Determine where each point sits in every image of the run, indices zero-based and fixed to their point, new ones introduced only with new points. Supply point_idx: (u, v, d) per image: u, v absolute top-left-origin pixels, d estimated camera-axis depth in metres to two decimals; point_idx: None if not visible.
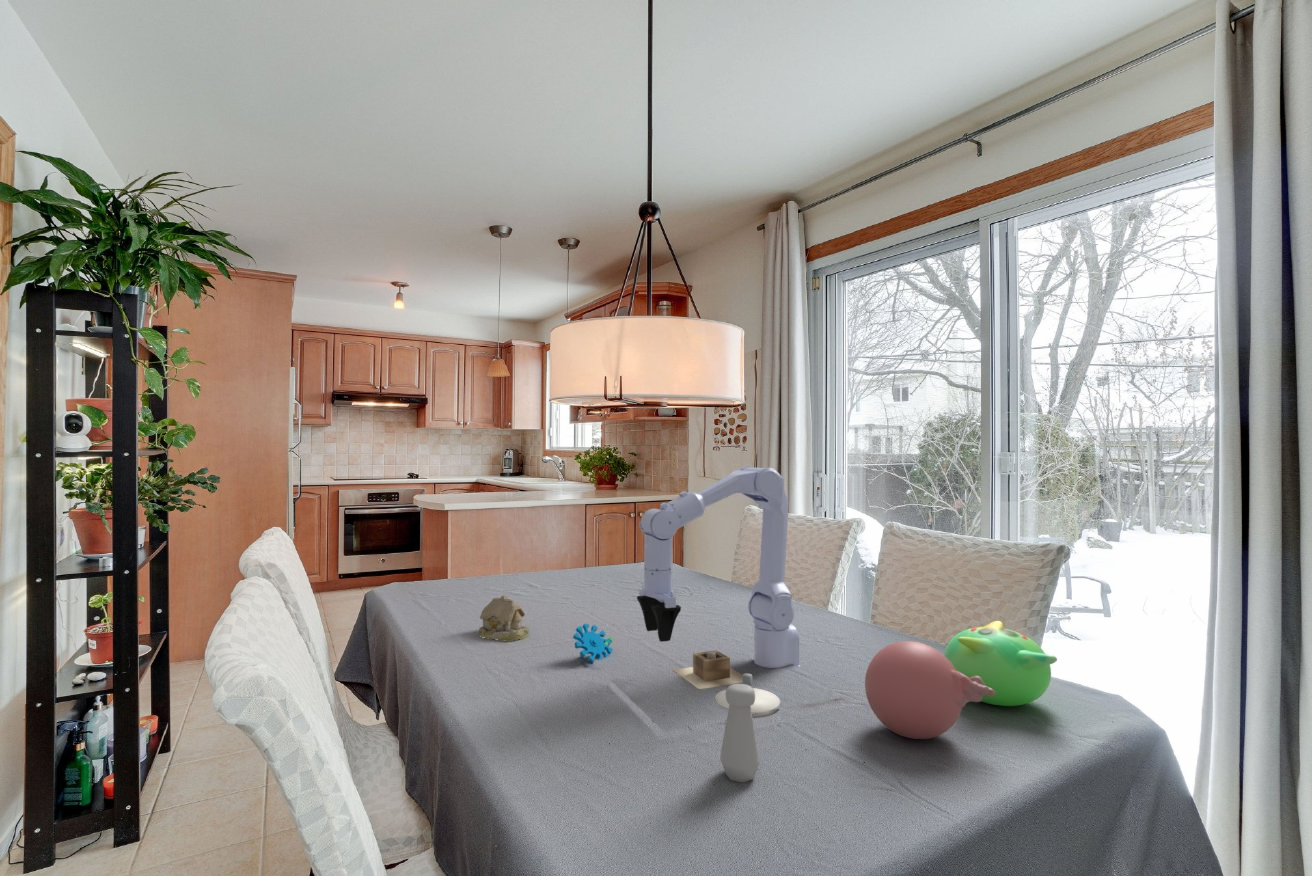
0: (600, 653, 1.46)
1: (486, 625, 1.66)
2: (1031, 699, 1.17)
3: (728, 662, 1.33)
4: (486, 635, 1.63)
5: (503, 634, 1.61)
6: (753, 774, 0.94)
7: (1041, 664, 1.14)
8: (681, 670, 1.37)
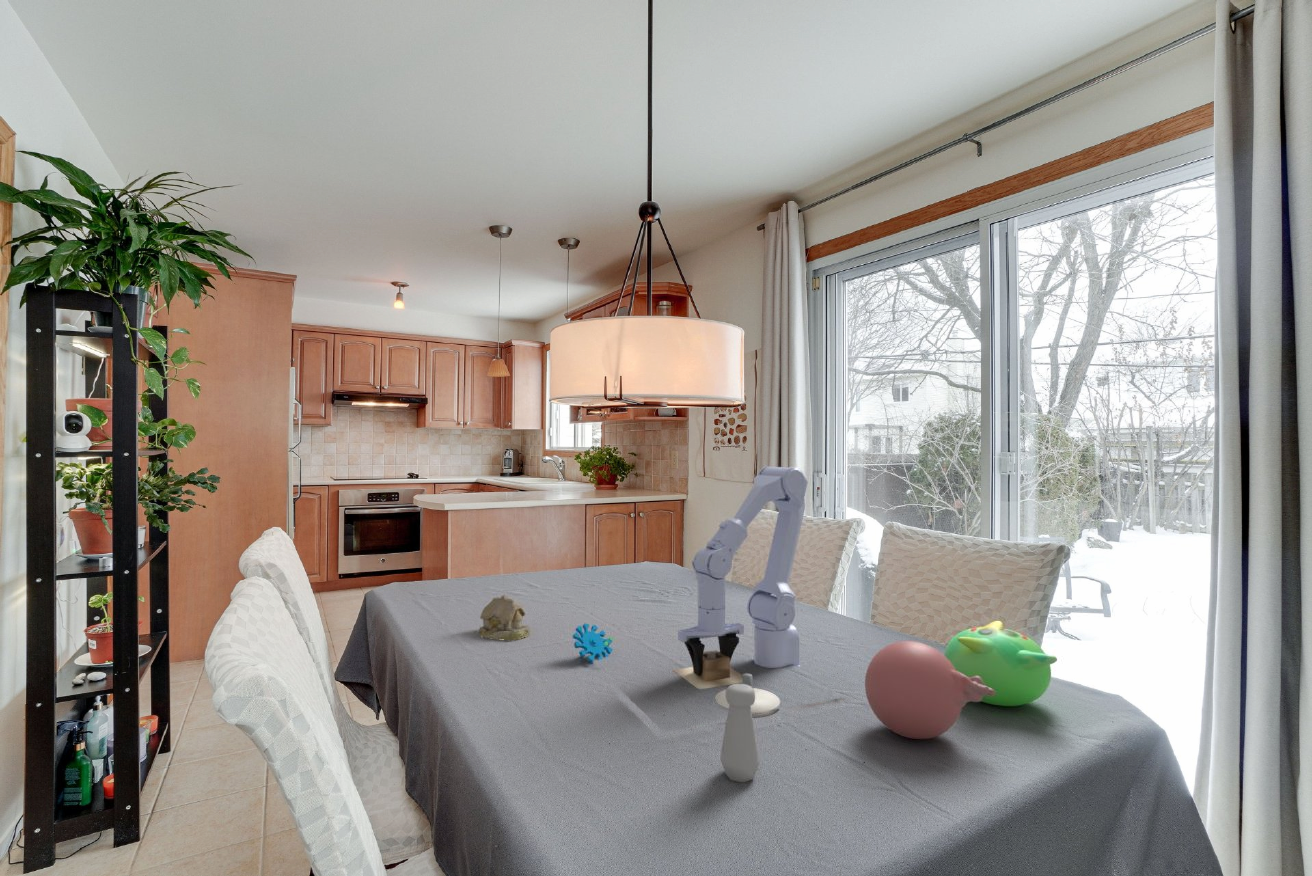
0: (600, 653, 1.46)
1: (486, 625, 1.66)
2: (1031, 699, 1.17)
3: (728, 662, 1.33)
4: (486, 635, 1.63)
5: (504, 633, 1.62)
6: (753, 774, 0.94)
7: (1041, 664, 1.14)
8: (681, 670, 1.37)
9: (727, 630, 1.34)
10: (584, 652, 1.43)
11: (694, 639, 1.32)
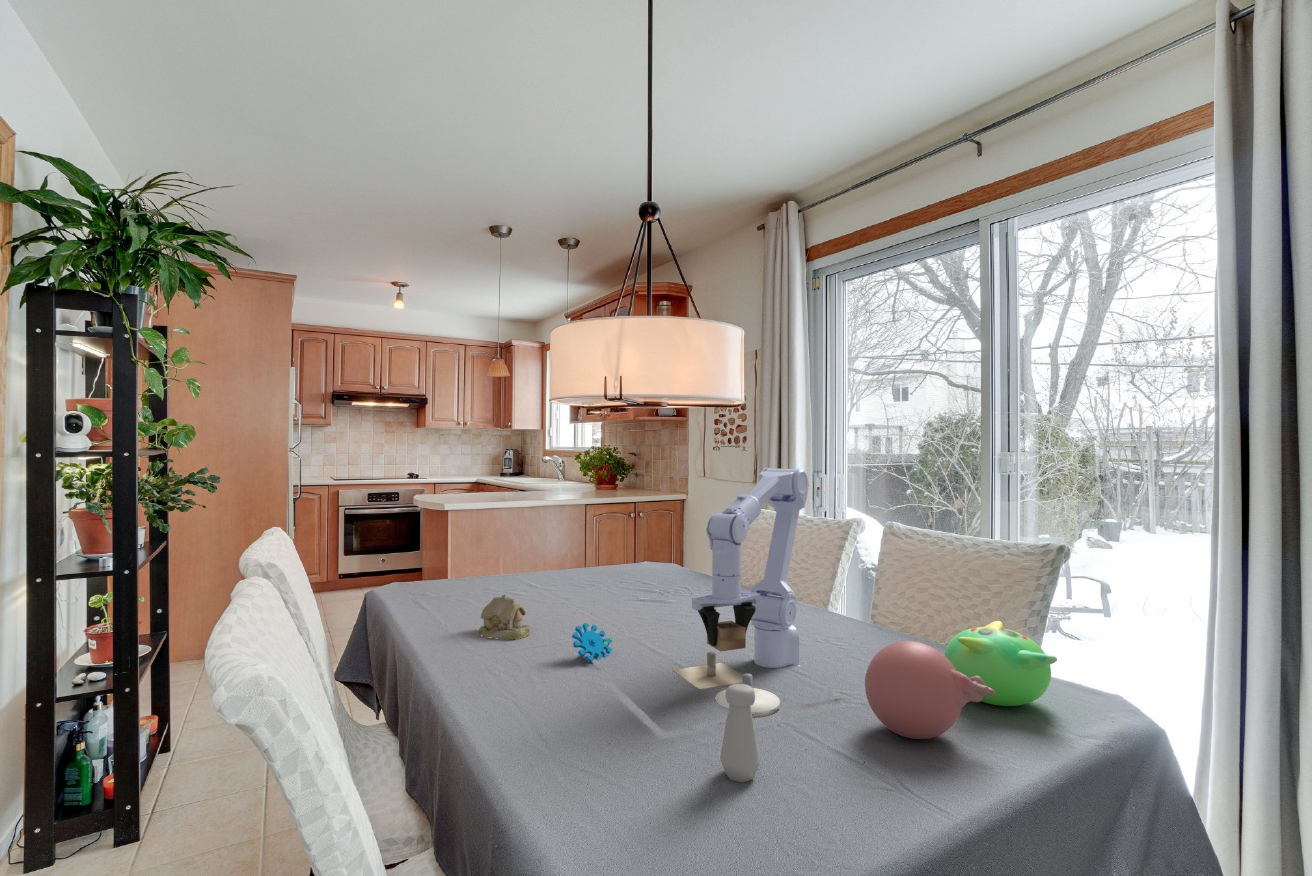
0: (599, 653, 1.46)
1: (487, 624, 1.67)
2: (1031, 699, 1.17)
3: (744, 632, 1.27)
4: (487, 634, 1.64)
5: (505, 633, 1.62)
6: (753, 774, 0.94)
7: (1041, 664, 1.14)
8: (681, 670, 1.37)
9: (743, 598, 1.28)
10: (583, 652, 1.43)
11: (709, 607, 1.27)
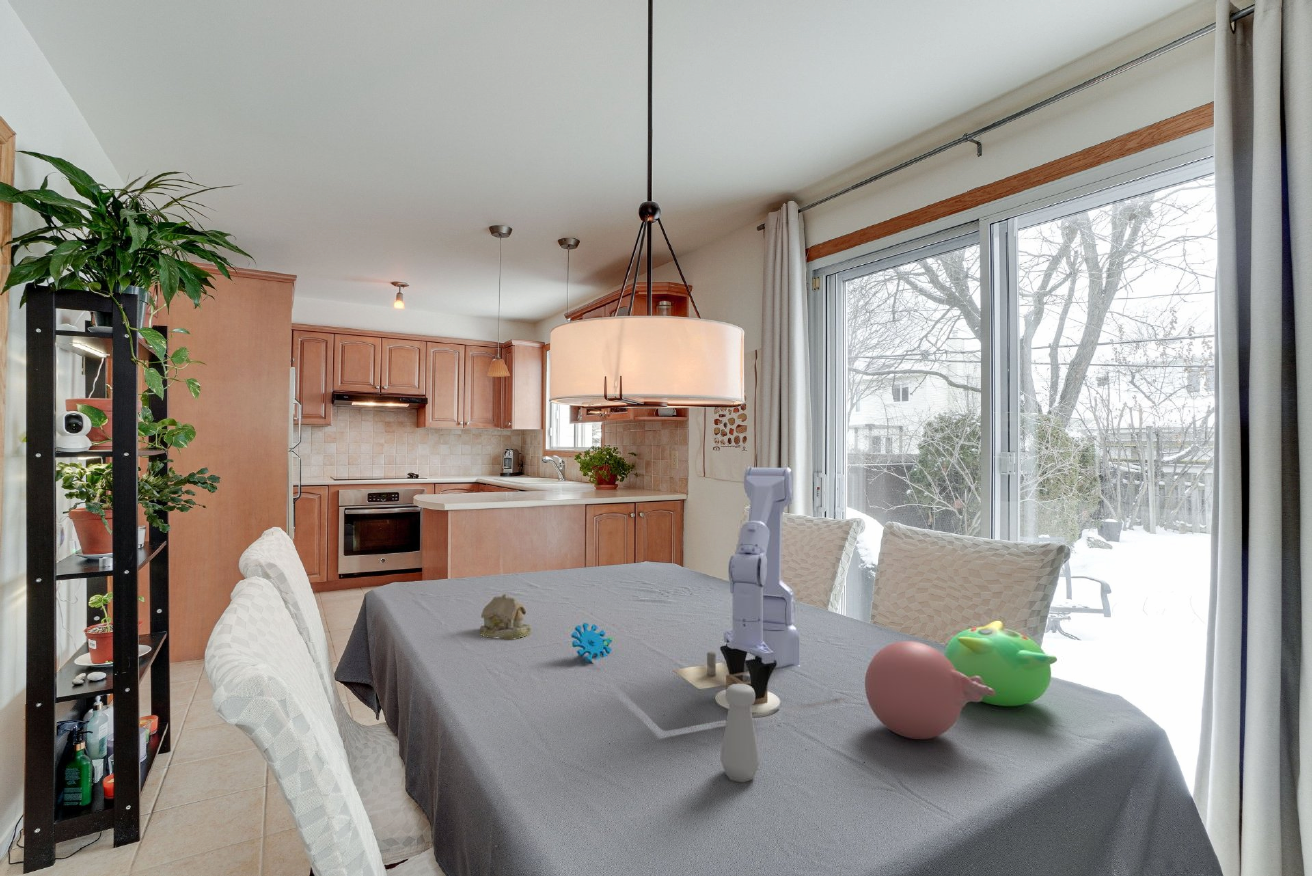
0: (598, 652, 1.46)
1: (487, 624, 1.67)
2: (1031, 699, 1.17)
3: None
4: (488, 633, 1.64)
5: (506, 632, 1.63)
6: (753, 774, 0.94)
7: (1041, 664, 1.14)
8: (681, 670, 1.37)
9: None
10: (582, 651, 1.44)
11: None
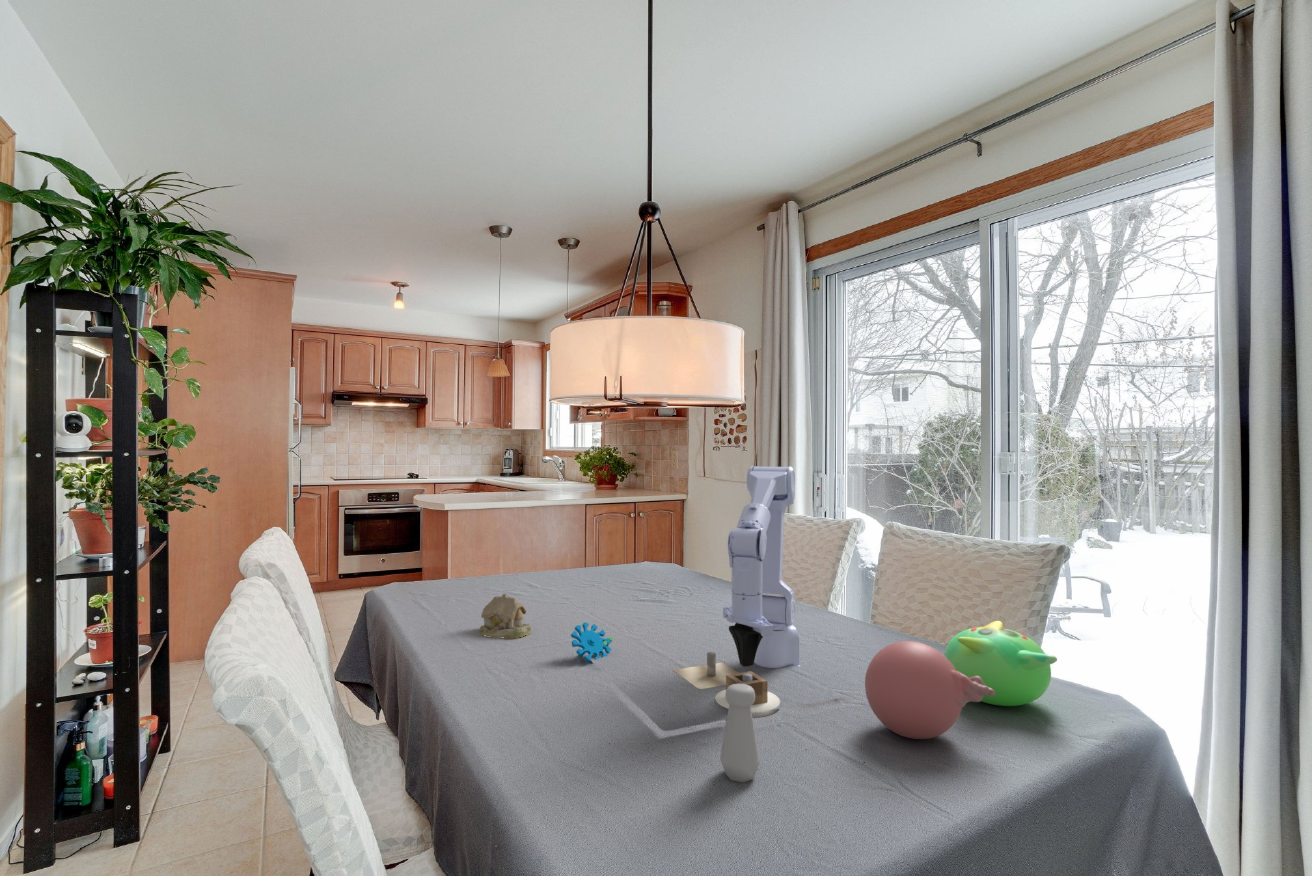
0: (597, 652, 1.46)
1: (488, 623, 1.67)
2: (1031, 699, 1.17)
3: None
4: (489, 633, 1.65)
5: (507, 632, 1.63)
6: (753, 774, 0.94)
7: (1041, 664, 1.14)
8: (681, 670, 1.37)
9: None
10: (581, 651, 1.44)
11: None
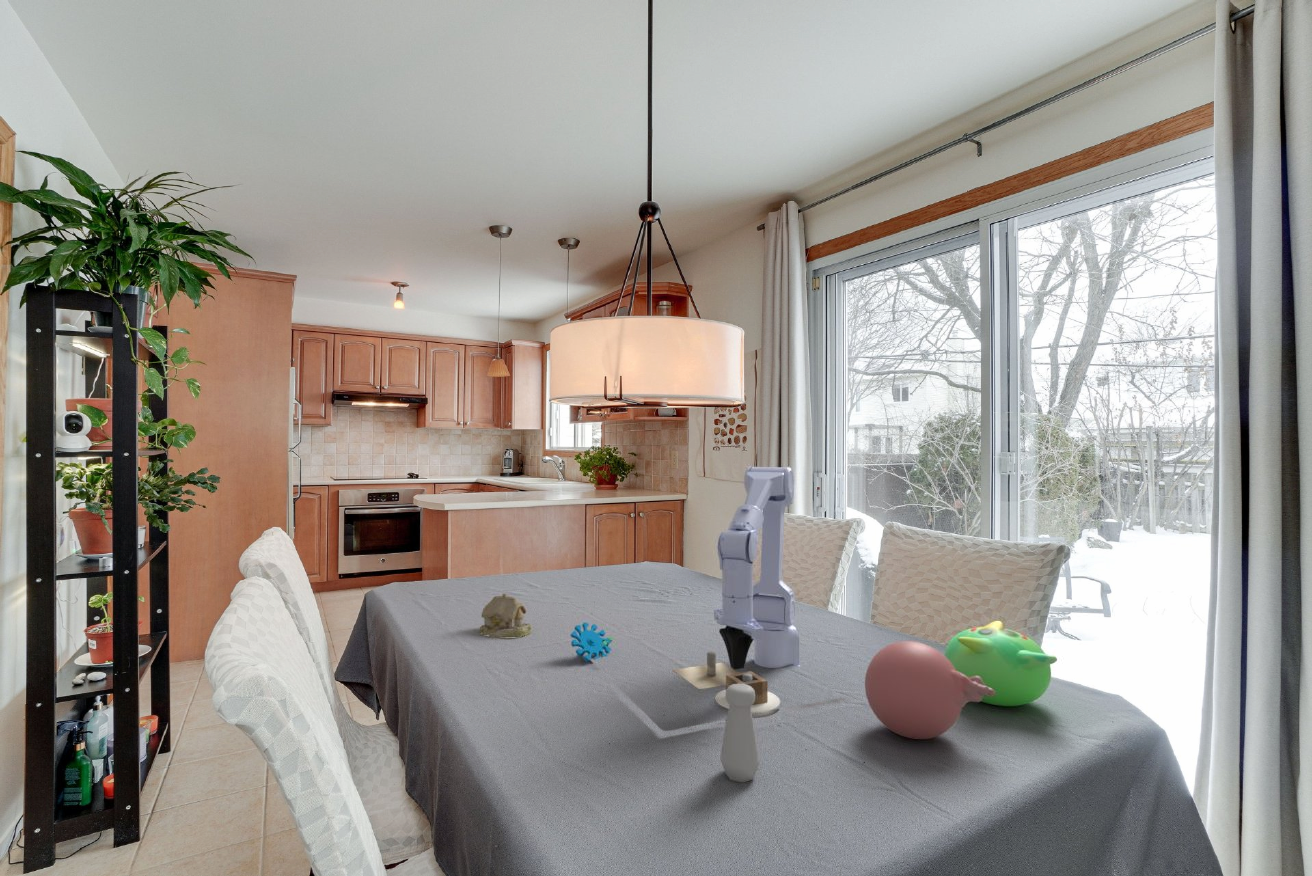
0: (597, 652, 1.46)
1: (488, 623, 1.68)
2: (1031, 699, 1.17)
3: None
4: (489, 633, 1.65)
5: (507, 631, 1.64)
6: (753, 774, 0.94)
7: (1041, 664, 1.14)
8: (681, 670, 1.37)
9: None
10: (580, 651, 1.44)
11: None
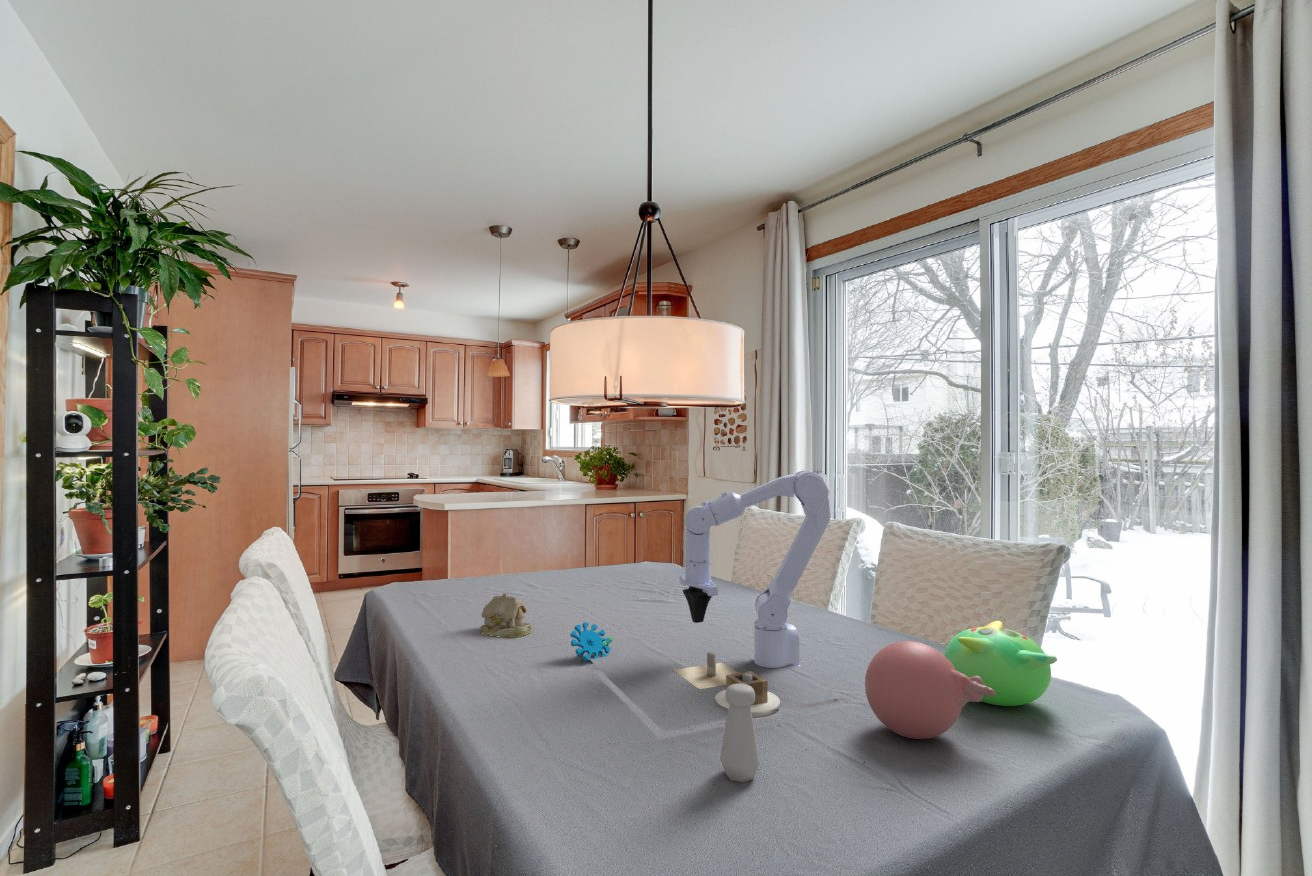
0: (596, 652, 1.46)
1: (488, 623, 1.68)
2: (1031, 699, 1.17)
3: None
4: (490, 633, 1.65)
5: (508, 631, 1.64)
6: (753, 774, 0.94)
7: (1041, 664, 1.14)
8: (681, 670, 1.37)
9: None
10: (580, 650, 1.44)
11: None
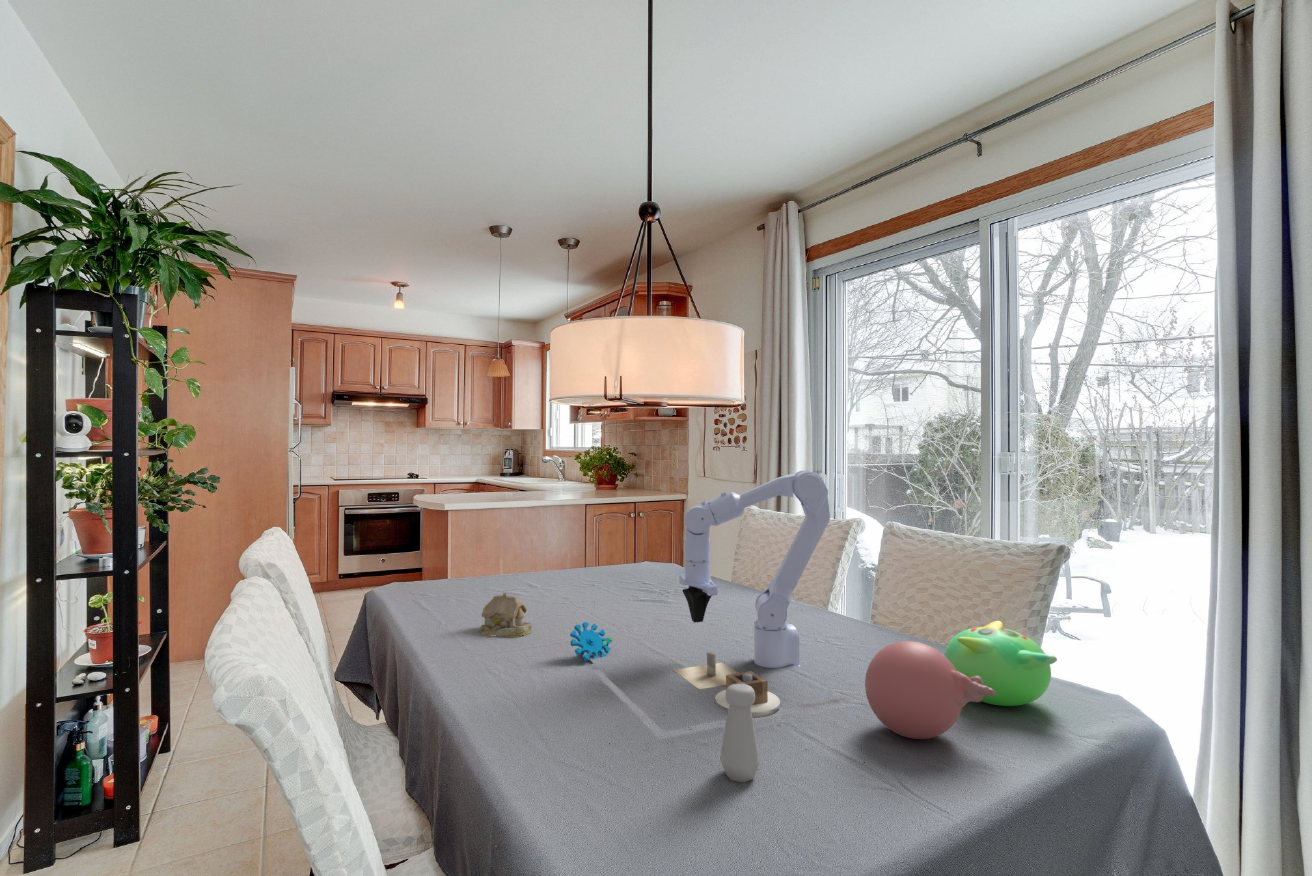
0: (596, 652, 1.46)
1: (488, 623, 1.68)
2: (1031, 699, 1.17)
3: None
4: (490, 632, 1.65)
5: (509, 630, 1.65)
6: (753, 774, 0.94)
7: (1041, 664, 1.14)
8: (681, 670, 1.37)
9: None
10: (579, 650, 1.44)
11: None
